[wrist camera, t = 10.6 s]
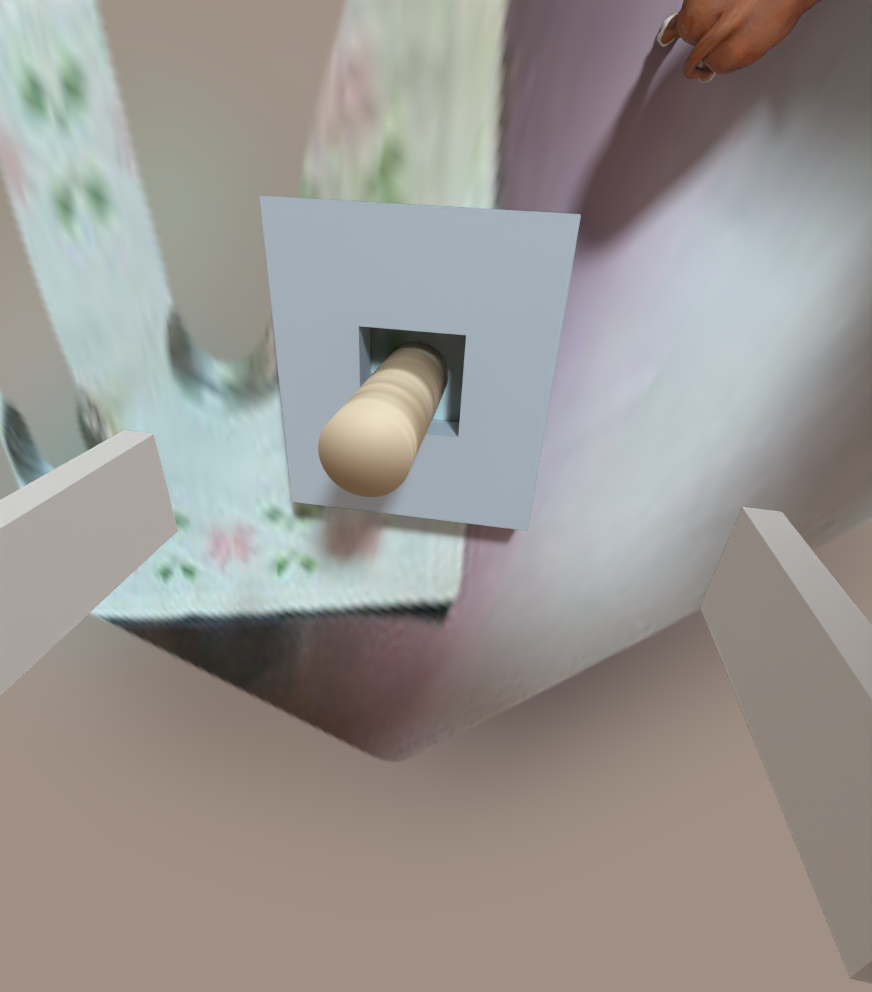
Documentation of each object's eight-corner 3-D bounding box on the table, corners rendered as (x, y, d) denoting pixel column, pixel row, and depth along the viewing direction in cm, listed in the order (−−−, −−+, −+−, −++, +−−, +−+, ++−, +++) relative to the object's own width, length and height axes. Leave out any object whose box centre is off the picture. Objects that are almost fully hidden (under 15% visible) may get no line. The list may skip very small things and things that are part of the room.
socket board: (279, 196, 28) (259, 195, 26) (576, 213, 26) (581, 214, 24) (305, 484, 37) (291, 501, 35) (527, 511, 35) (528, 530, 33)
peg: (384, 339, 31) (314, 405, 21) (450, 345, 31) (412, 415, 20) (384, 402, 33) (321, 491, 23) (446, 408, 33) (409, 502, 22)
